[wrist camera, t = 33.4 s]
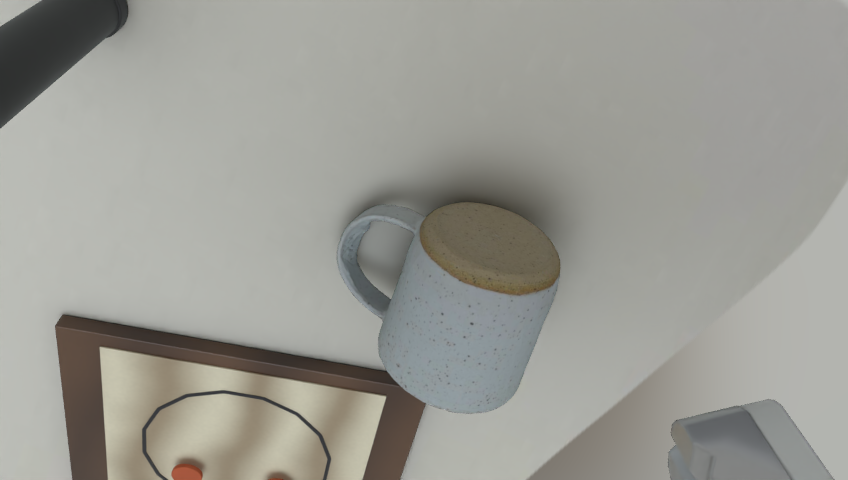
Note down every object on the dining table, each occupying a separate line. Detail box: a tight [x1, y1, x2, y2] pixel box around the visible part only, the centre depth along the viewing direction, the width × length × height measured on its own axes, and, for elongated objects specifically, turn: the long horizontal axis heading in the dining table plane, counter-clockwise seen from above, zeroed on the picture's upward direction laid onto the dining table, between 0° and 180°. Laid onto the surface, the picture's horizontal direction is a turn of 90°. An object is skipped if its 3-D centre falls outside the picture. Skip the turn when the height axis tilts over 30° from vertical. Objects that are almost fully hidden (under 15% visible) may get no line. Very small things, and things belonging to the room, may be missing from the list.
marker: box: [0, 0, 128, 128], centre depth 25 cm, size 3×3×13 cm
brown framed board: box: [55, 315, 426, 480], centre depth 46 cm, size 22×18×1 cm
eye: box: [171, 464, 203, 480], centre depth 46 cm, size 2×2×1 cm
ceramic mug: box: [337, 202, 560, 414], centre depth 34 cm, size 11×8×8 cm
